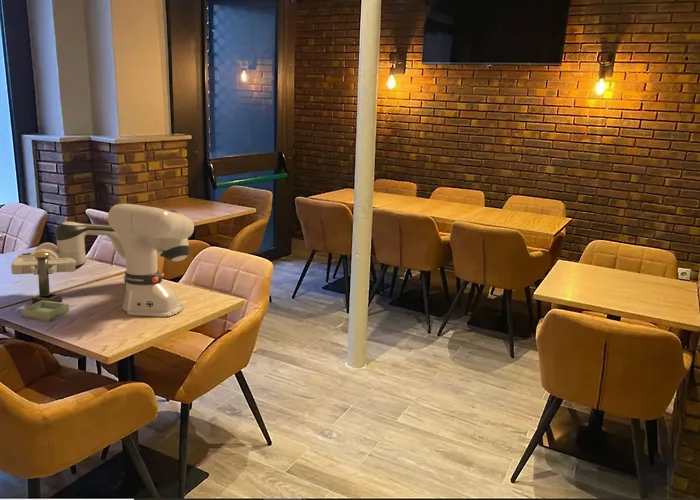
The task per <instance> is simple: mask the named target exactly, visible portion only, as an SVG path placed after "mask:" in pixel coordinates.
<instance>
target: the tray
mask: <svg viewBox="0 0 700 500" xmlns="http://www.w3.org/2000/svg"><path fill="white" fill-rule="evenodd" d="M69 307H70V305H69V303H67V302H66V303H65V302H61V303H59V302H51V301H43V300H41V301H39V302H37V303H35V304H33V303H32V304H31V305H28V306H27V307H24V308H23V309H21V319H28V320H35V321H44V322H52V321H54V320H56V319H57V318H60V317H61V316H64V315H65V314H67V313H69V312H70V308H69Z"/></svg>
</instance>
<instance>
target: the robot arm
mask: <svg viewBox="0 0 700 500" xmlns="http://www.w3.org/2000/svg"><path fill="white" fill-rule="evenodd" d="M107 222H108V224H95V223H81V222H75V221H64V222H63V221H62V222H61V223H59V224H58V225H57V227H56V228H55V229H54V236H55V239H56V244H55V243H52V242H44V243H40V244H39V245H37V247H35V250H34V251H31V252H27V253H26V252H25V253H20V254H18V255H17V257H16V258H15V259H14V260H13V261H12V262H11V264H10V267H11V268H10V269H11V270H10V271H11V274H12V275H30V274H33V275H34V276H35V275H37V276H38V262H37V258H36V257H35V253H36V252H42V251H45V252H49V255H50V256H49V257H48V274H49V275H53V274H54V273H72V272H75V271H77V270H78V269H80V268H81V267H83V266H84V265H85V264H86V262H87V256H86V253H87V252H86V244H85V243H86V242H85V237H86V236H87V235H88V236H89V235H91V236H106V237H107V238H108V240H110V242H111V244H112V247H113V248H114V250H115V252H116V253H117V255H119V257H121V258H122V259H124V260H125V272H124V284H125V294H124V300H123V304H122V306H121V308H122V310H123V311H124V312H126V313H127V314H126V315H128V316H142V317H143V316H144V317H160V318H164V317H165V318H169V316H170V317H173V316H175V315H174V314H176V315H177V313H178V312H179V313H181V312H182V311H183V310H184V309H185V307H184V306H185V303H184V302H181V301H179V297H178V296H179V295H178V293H177V291H176V290H175V289H173V288H172V286H171V287H170V286H169V285H168V284H167V283H166V282H164V281H163V277H164V276H165V273H164V272H162V273H160V272H159V270H158V255H160V257H161V258H164V259H165V260H167V261H171V262H180V261H183V260H185V259H186V258H188V257H189V256H190V254H191V247H190V245H189V238H191V236H192V235H193V234H194V230H195V224H194V222H193V220H192V219H191V218H189V217H188V216H187V215H185V214H182V213H179V212H178V211H176V210H174V209H171V210H170V209H168V210H167V209H163V208H161V207H155V206H154V207H153V206H148V205H147V206H146V205H140V204H132V203H118V204H114V205H113V206H112V207H111V208H110V209H109V212H108V213H107ZM183 308H184V309H183ZM182 309H183V310H182ZM181 310H182V311H181ZM180 311H181V312H180ZM179 313H178V314H179ZM172 315H173V316H172ZM167 316H168V317H167Z"/></svg>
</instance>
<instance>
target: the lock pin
mask: <svg viewBox="0 0 700 500" xmlns="http://www.w3.org/2000/svg"><path fill="white" fill-rule="evenodd" d="M49 256H50V255H49V252H45V251H42V252H36V253H35V257H36V258H37V262H38V275H37V276H38V292H39V294H38V295H40V296H48V295H50V293H51V292H50V276H49V275H50V274H48V257H49Z"/></svg>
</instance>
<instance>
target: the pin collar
mask: <svg viewBox="0 0 700 500" xmlns="http://www.w3.org/2000/svg"><path fill="white" fill-rule="evenodd" d="M41 300H43V301H51V302H59V303H63V294H61V293H56V292H55V293H54V292H50V295H48V296H40V295H39V294H38V295H36V296H33V297H32V298H31V303H32V305H33V304H35V303H37V302H39V301H41Z"/></svg>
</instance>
